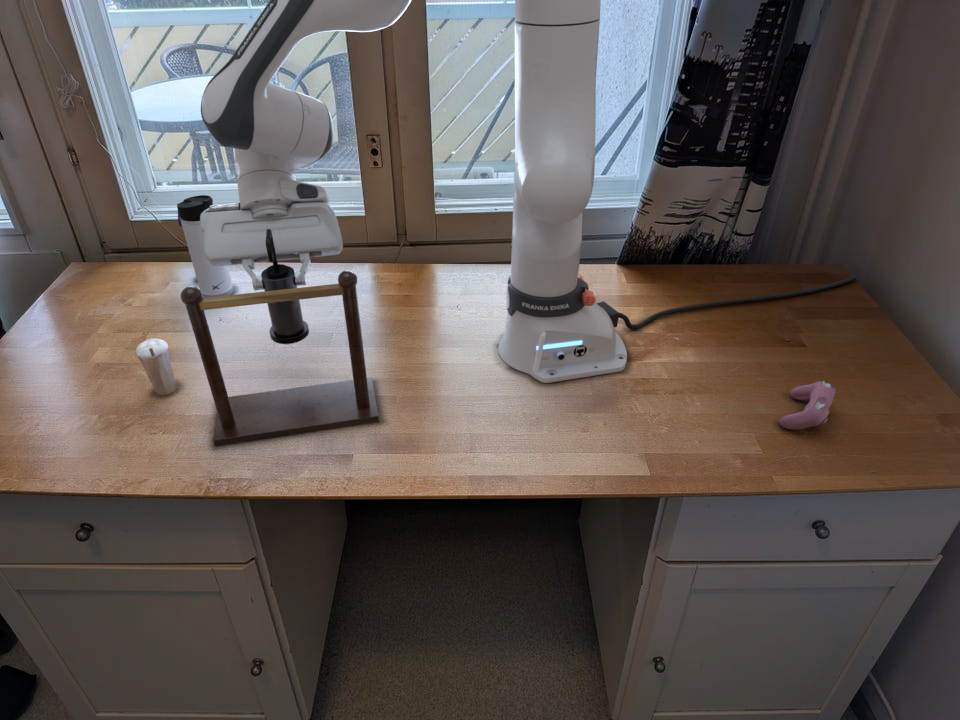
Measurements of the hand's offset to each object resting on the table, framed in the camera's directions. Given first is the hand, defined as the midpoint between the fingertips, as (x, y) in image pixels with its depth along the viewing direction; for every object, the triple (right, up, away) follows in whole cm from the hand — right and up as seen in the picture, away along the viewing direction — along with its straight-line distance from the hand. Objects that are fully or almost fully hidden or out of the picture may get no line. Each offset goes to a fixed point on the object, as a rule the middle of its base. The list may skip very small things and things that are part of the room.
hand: (280, 286), depth 98 cm
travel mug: (-23, +2, +33) cm, 40 cm away
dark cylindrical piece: (0, -7, +5) cm, 9 cm away
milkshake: (-21, -16, +7) cm, 27 cm away
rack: (+2, -19, +3) cm, 20 cm away
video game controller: (+81, -20, +3) cm, 83 cm away
